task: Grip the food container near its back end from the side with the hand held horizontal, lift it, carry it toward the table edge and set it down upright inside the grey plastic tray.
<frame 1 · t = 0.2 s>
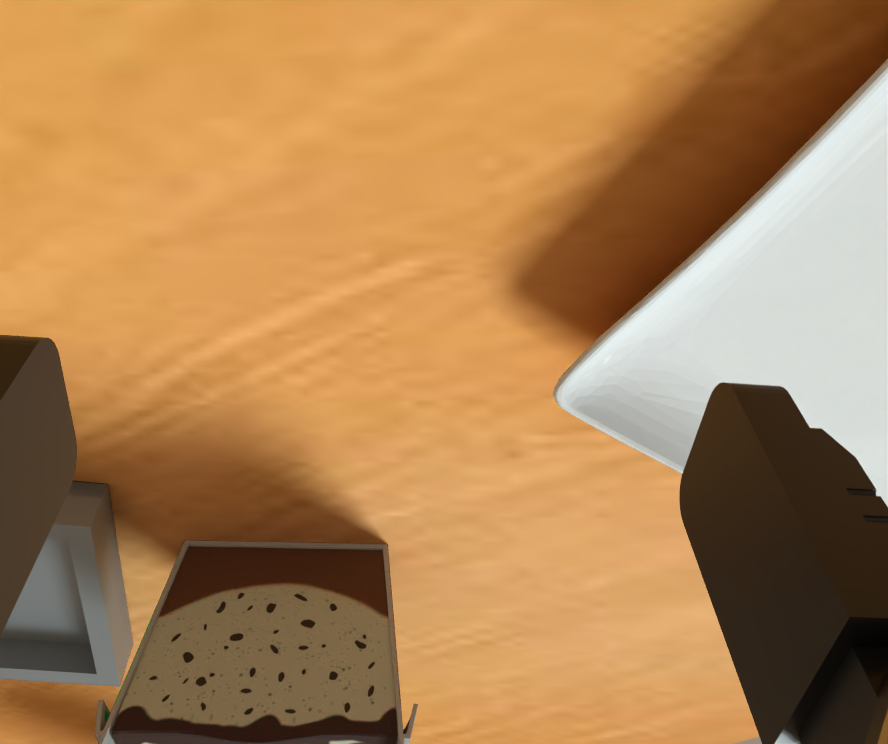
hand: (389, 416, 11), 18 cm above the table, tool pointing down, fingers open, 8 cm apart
food container: (291, 580, 41), on the table
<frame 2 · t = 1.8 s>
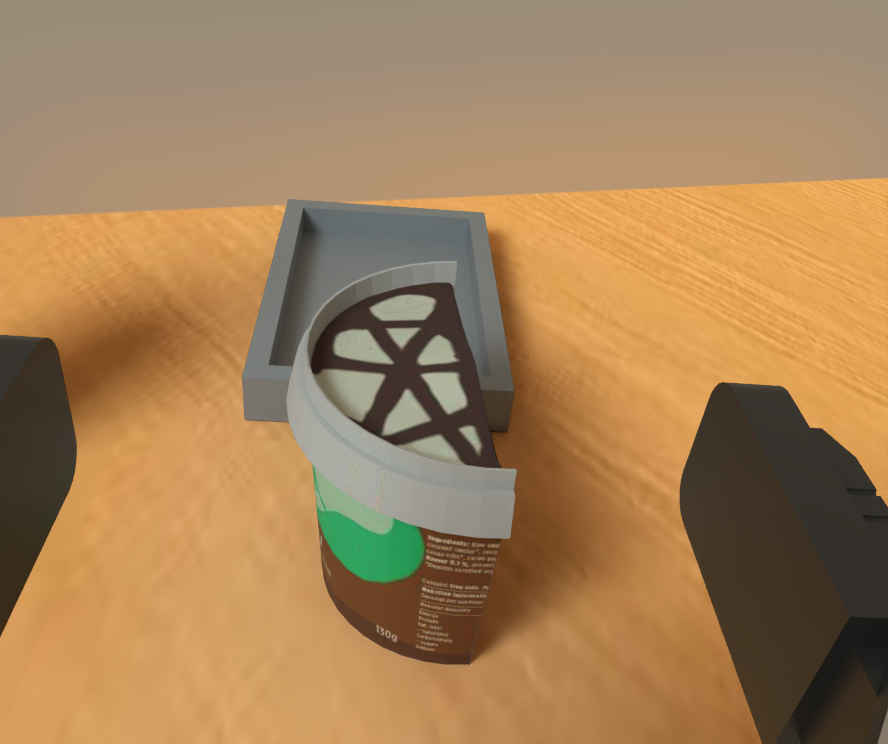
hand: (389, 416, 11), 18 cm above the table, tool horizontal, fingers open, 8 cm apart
tray: (382, 318, 46), on the table
food container: (371, 565, 32), on the table
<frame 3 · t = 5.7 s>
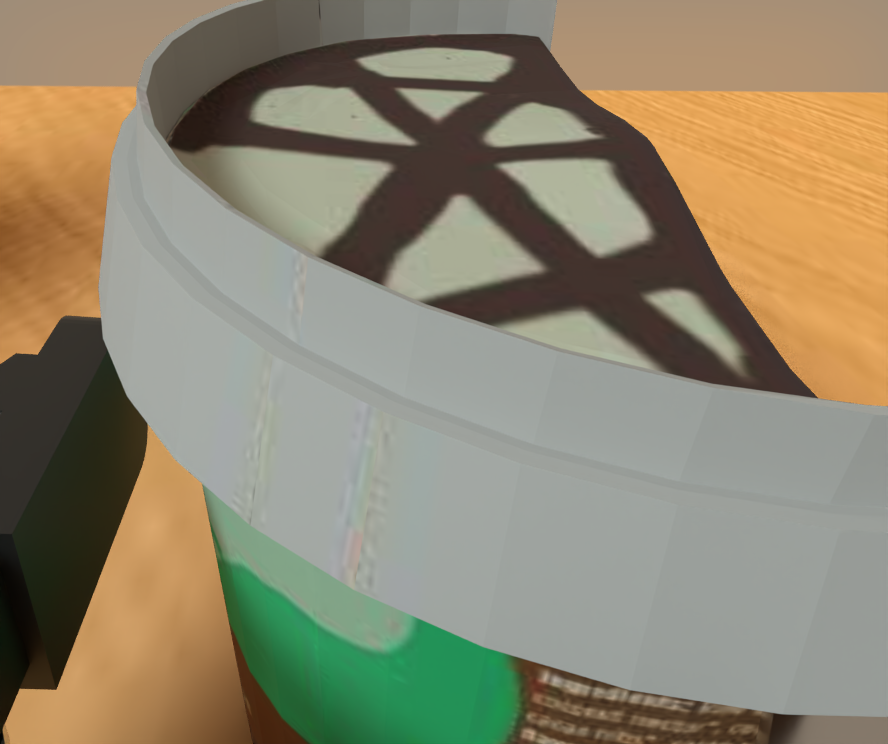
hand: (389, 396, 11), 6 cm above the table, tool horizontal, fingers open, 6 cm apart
food container: (356, 670, 15), on the table, touching gripper
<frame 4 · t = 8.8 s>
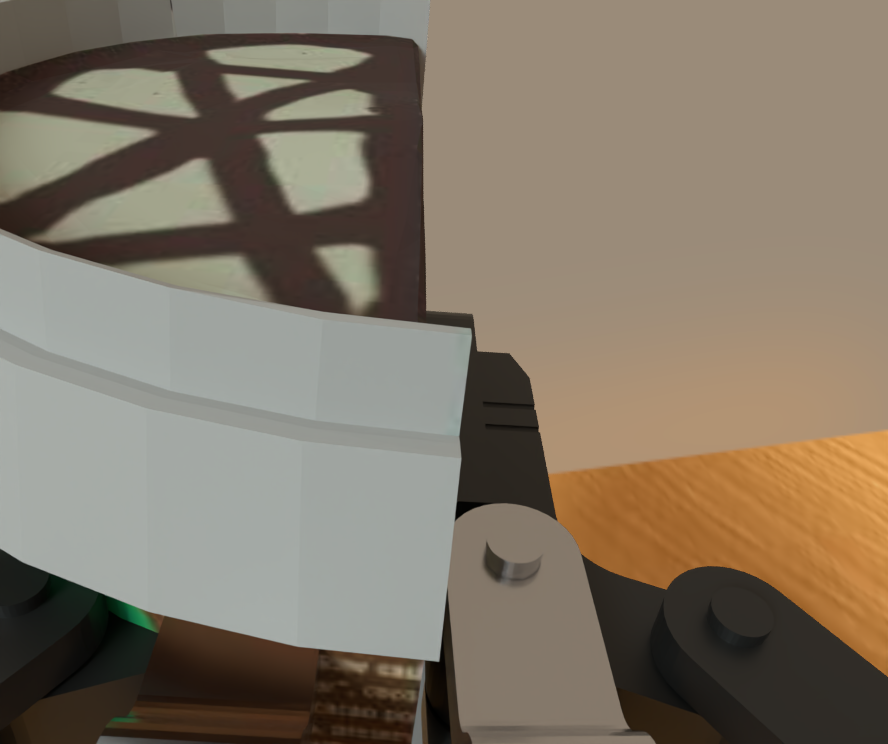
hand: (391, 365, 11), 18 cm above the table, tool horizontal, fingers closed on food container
food container: (207, 662, 15), point 11 cm above the table, touching gripper
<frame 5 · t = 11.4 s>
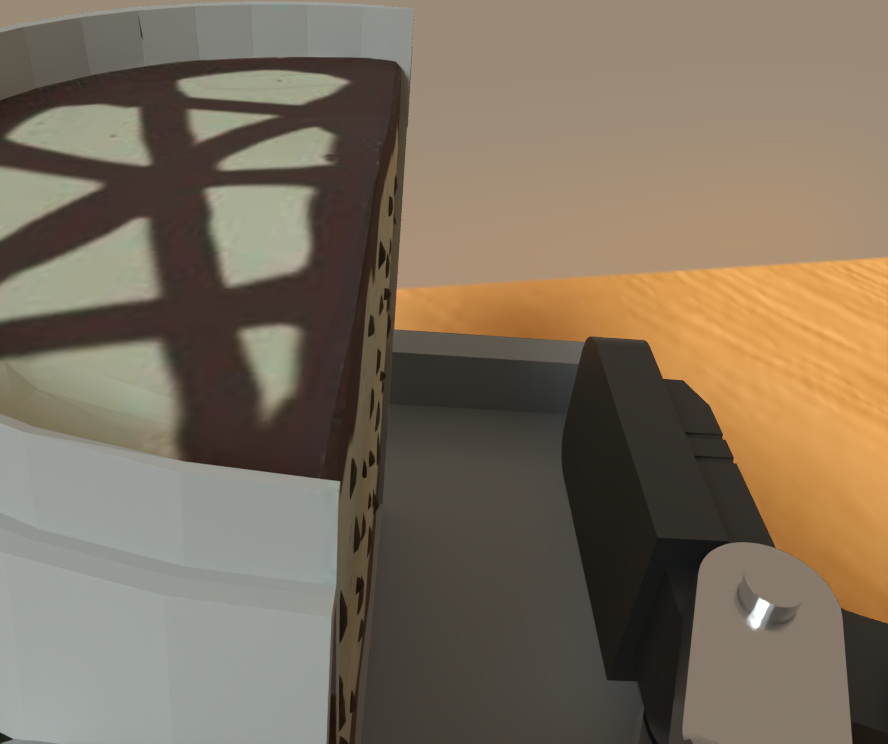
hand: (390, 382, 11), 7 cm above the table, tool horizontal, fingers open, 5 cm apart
tray: (359, 709, 15), on the table
food container: (186, 691, 15), point 1 cm above the table, touching gripper, tray
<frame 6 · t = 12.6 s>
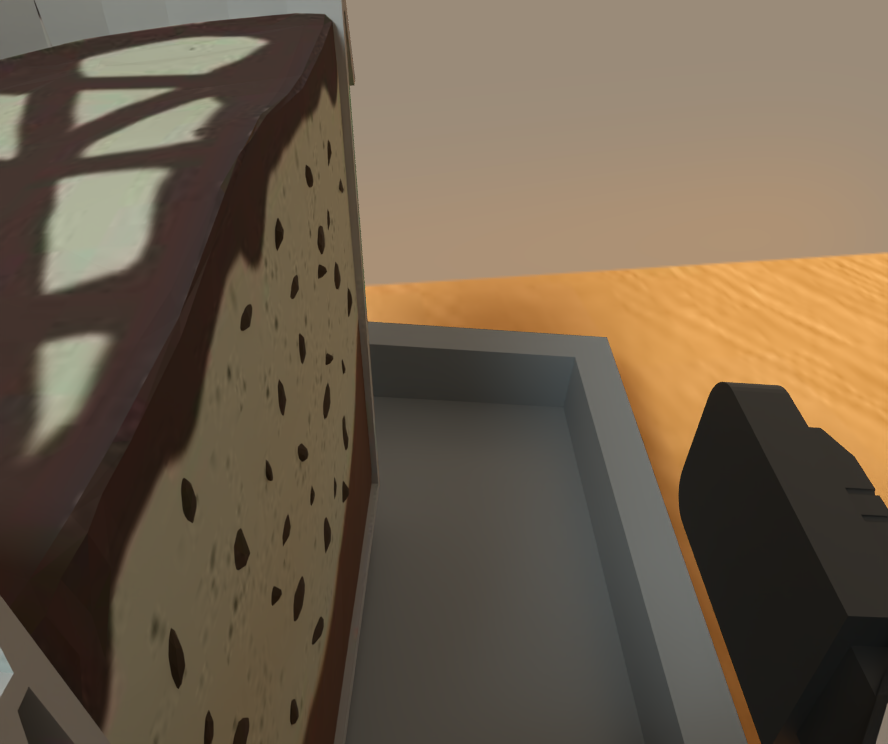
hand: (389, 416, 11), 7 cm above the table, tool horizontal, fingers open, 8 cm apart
tray: (353, 697, 15), on the table
food container: (173, 689, 14), point 1 cm above the table, touching gripper, tray
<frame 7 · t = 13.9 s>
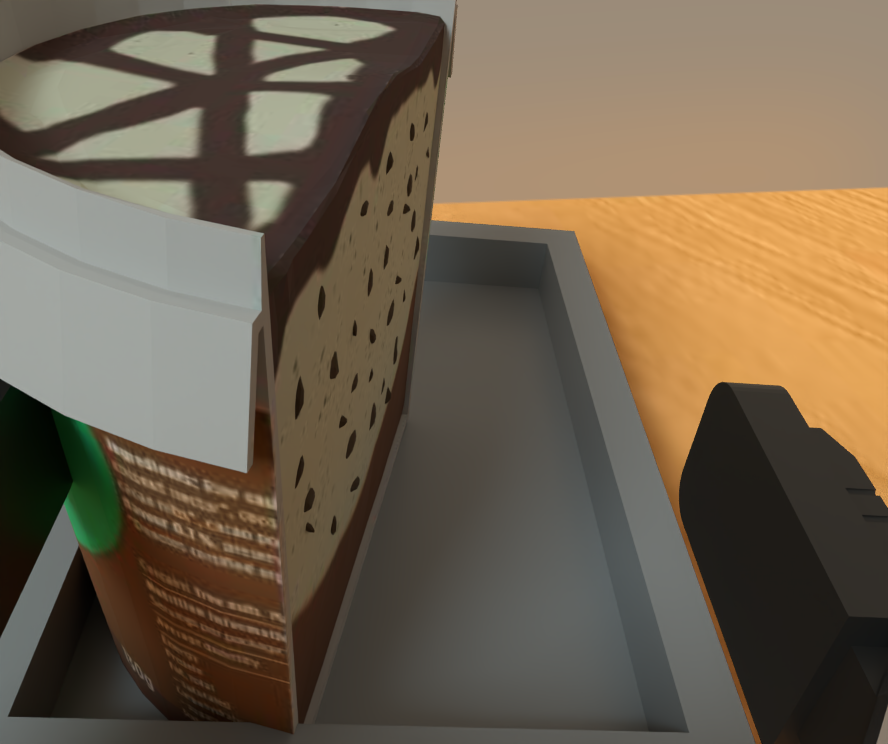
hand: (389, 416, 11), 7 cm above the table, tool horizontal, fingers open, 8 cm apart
tray: (370, 472, 20), on the table
food container: (219, 536, 17), point 1 cm above the table, touching tray
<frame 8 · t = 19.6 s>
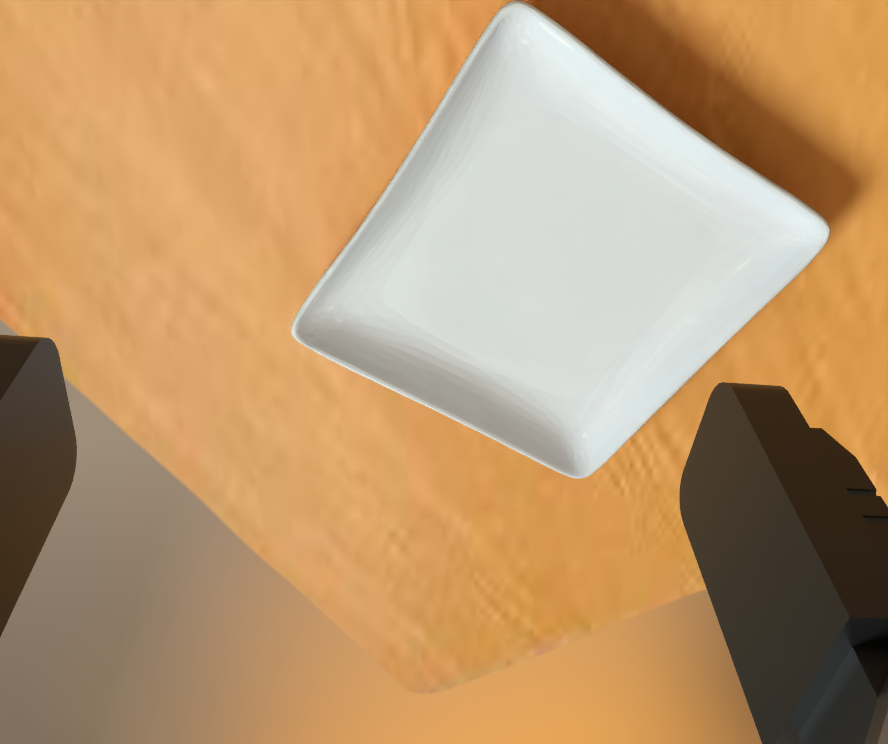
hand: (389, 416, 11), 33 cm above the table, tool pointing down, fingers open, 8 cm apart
salad plate: (546, 256, 47), on the table
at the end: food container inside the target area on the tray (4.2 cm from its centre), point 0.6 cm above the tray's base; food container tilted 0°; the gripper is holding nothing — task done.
